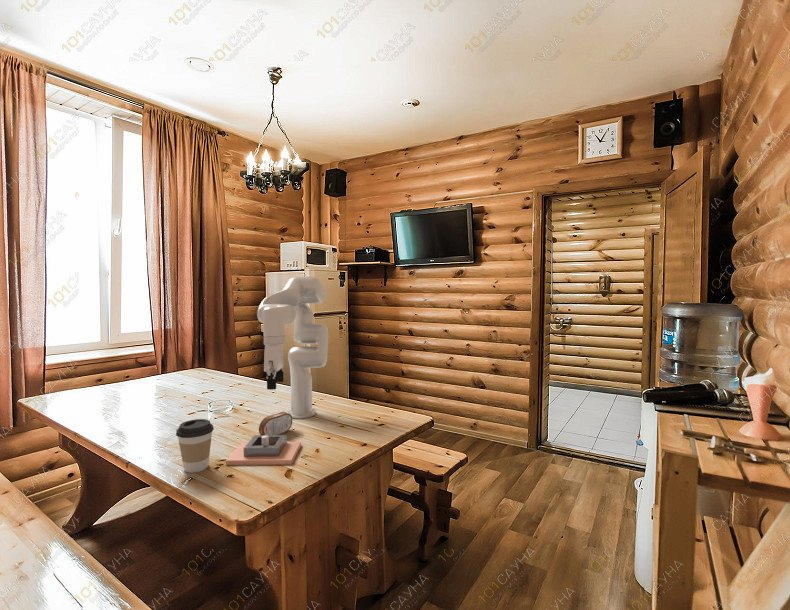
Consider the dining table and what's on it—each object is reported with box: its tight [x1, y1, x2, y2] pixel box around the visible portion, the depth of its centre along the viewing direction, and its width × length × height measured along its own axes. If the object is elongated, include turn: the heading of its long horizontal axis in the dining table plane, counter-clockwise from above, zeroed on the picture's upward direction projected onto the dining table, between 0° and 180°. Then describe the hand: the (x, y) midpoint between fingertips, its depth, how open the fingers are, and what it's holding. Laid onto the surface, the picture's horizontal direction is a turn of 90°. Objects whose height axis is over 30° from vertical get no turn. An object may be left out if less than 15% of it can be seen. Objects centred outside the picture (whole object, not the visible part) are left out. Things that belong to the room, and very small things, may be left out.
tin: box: [258, 411, 293, 435], centre depth 168 cm, size 15×3×8 cm, turn 144°
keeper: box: [225, 436, 302, 466], centre depth 149 cm, size 16×22×7 cm
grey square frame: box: [244, 434, 288, 457], centre depth 150 cm, size 12×12×3 cm
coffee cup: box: [175, 418, 214, 473], centre depth 138 cm, size 11×11×15 cm
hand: (275, 385), depth 156 cm, fingers open, 9 cm apart
